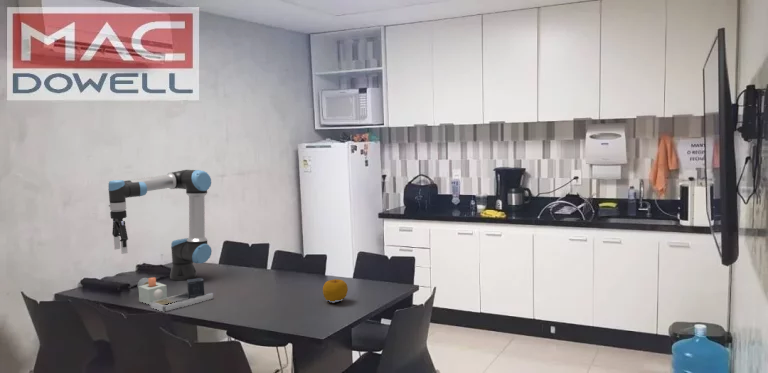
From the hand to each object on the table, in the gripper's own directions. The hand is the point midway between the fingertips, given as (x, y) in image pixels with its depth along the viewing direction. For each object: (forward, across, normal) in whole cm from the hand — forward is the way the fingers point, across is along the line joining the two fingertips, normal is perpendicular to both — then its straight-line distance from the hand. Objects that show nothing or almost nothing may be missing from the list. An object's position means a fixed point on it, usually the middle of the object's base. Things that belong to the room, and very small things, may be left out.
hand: (120, 251), depth 299 cm
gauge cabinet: (+26, +10, +12) cm, 31 cm away
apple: (+27, +74, +82) cm, 114 cm away
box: (+27, +22, +30) cm, 46 cm away
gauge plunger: (+21, +10, +12) cm, 26 cm away
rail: (+26, +24, +22) cm, 42 cm away
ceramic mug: (+27, -8, +15) cm, 32 cm away
